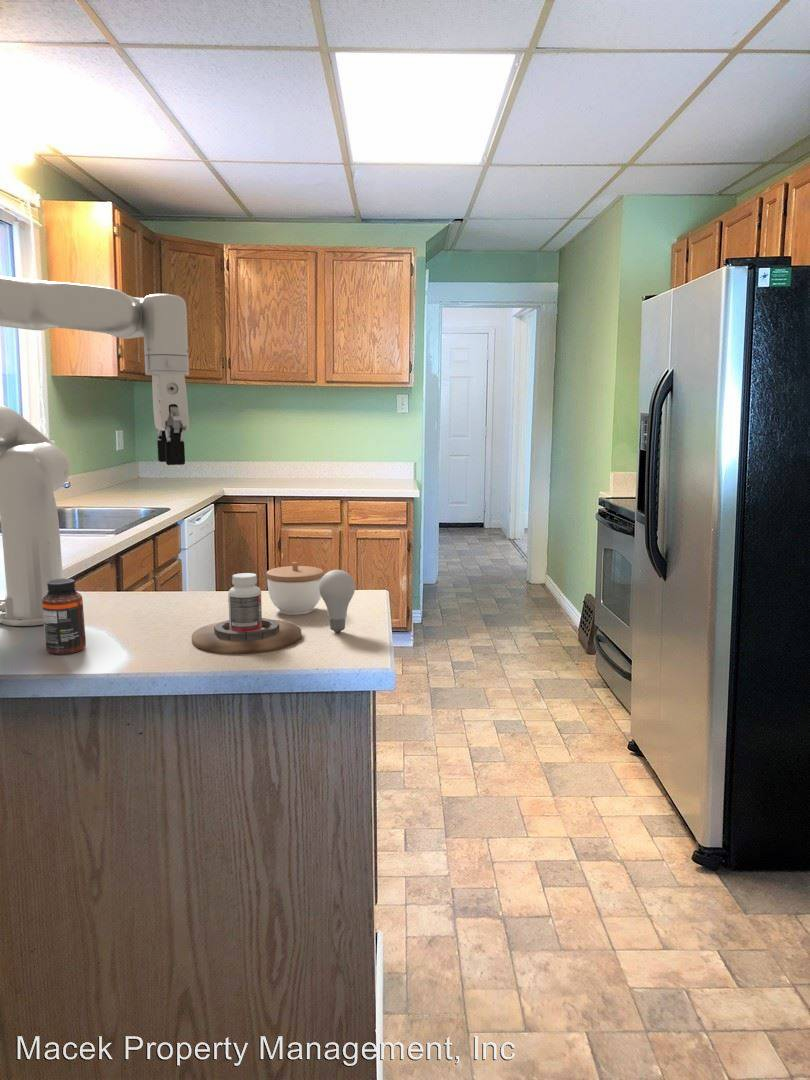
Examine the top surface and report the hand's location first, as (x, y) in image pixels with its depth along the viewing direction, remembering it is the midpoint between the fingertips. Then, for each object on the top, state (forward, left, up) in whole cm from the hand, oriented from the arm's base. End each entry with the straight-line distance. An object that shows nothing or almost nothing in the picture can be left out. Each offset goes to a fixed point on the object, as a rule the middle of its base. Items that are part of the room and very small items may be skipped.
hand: (171, 463), depth 150 cm
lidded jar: (+21, -6, -28) cm, 36 cm away
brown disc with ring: (+8, -21, -28) cm, 36 cm away
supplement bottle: (-20, -16, -28) cm, 38 cm away
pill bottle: (+8, -21, -28) cm, 35 cm away
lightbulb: (+23, -24, -28) cm, 44 cm away
